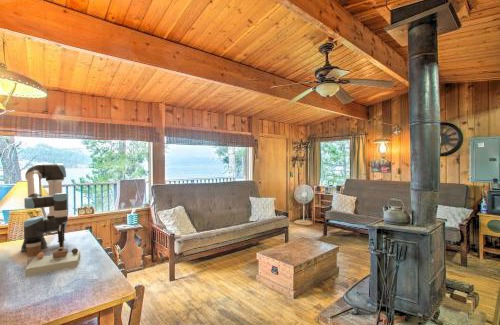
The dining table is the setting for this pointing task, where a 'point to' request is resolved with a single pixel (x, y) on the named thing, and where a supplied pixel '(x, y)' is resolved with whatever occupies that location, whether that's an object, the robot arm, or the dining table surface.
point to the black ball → (74, 250)
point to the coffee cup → (33, 247)
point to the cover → (60, 252)
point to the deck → (52, 263)
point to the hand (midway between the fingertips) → (61, 251)
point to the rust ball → (40, 255)
